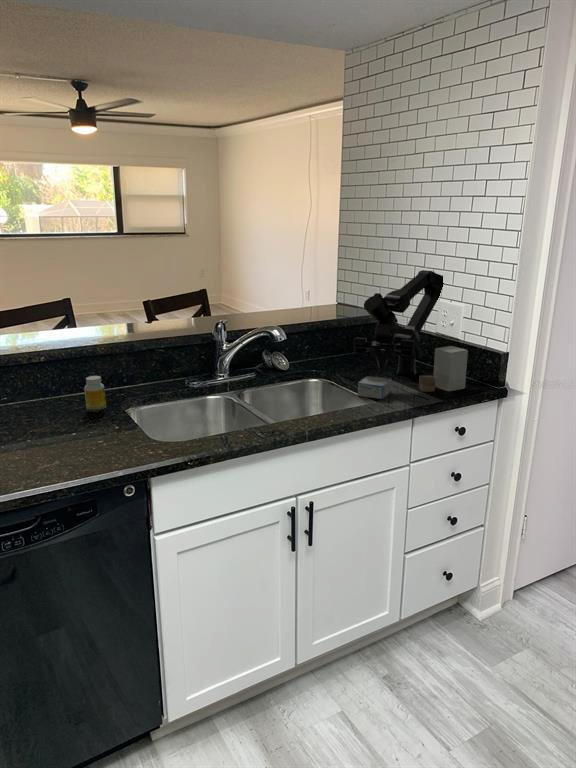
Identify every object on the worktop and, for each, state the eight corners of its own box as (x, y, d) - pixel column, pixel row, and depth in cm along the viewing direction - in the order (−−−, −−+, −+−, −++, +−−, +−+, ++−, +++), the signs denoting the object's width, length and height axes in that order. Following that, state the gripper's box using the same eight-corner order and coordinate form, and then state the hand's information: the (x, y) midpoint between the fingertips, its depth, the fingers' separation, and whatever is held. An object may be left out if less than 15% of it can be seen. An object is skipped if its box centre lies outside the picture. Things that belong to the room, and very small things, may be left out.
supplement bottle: (85, 408, 162) (81, 376, 159) (104, 405, 164) (101, 374, 162) (88, 414, 157) (85, 381, 155) (108, 411, 160) (105, 378, 157)
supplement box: (465, 388, 179) (469, 349, 176) (448, 392, 176) (451, 352, 172) (449, 382, 186) (452, 345, 182) (431, 386, 182) (434, 347, 178)
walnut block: (418, 387, 180) (419, 375, 179) (431, 387, 180) (432, 375, 179) (421, 391, 176) (422, 379, 175) (434, 391, 176) (435, 379, 175)
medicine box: (366, 388, 179) (357, 396, 172) (367, 375, 178) (357, 382, 171) (391, 392, 176) (382, 400, 169) (391, 378, 175) (382, 385, 167)
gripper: (354, 312, 176) (348, 354, 169) (416, 314, 172) (412, 358, 165) (357, 332, 186) (351, 373, 179) (415, 334, 182) (411, 376, 174)
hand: (381, 370), depth 174 cm, fingers closed
